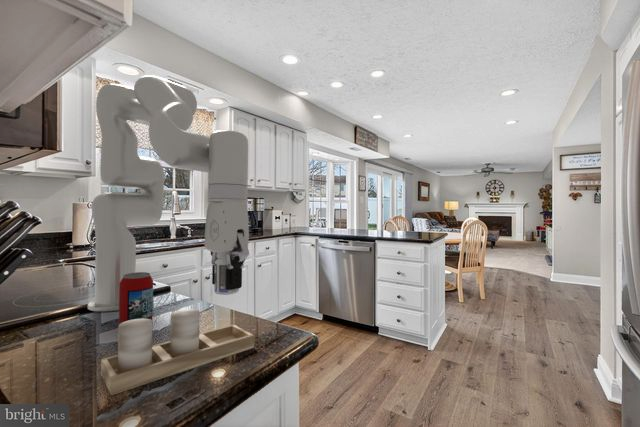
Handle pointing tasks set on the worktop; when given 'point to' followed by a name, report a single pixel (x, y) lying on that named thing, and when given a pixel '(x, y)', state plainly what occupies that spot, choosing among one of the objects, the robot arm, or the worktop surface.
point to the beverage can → (135, 297)
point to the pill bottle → (222, 275)
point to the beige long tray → (168, 350)
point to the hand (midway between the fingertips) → (226, 285)
